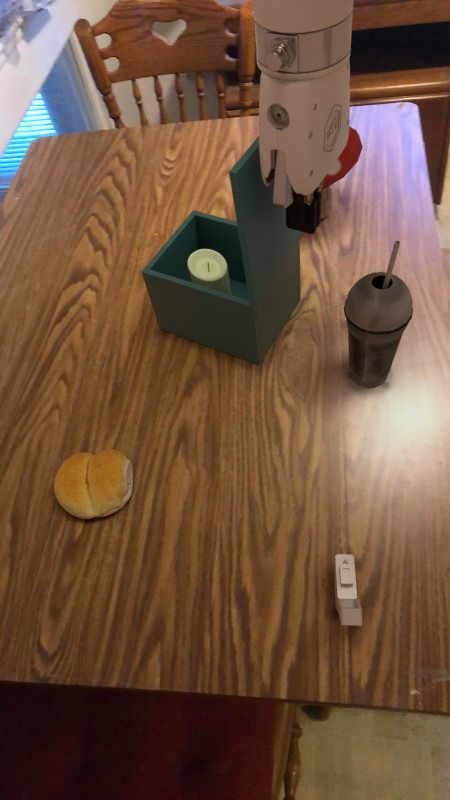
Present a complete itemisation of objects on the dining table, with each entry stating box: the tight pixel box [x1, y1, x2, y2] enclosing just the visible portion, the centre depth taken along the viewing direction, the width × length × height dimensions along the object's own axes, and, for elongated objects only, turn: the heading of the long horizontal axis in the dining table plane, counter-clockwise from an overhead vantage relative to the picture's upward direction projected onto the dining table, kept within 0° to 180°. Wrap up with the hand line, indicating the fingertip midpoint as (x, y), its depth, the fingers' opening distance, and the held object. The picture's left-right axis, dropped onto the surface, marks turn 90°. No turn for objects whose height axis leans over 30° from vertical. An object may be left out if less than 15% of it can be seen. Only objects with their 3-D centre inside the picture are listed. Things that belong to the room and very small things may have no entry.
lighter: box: [333, 553, 363, 626], centre depth 52 cm, size 7×2×8 cm, turn 177°
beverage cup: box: [343, 240, 414, 389], centre depth 62 cm, size 7×7×20 cm
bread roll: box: [53, 448, 134, 520], centre depth 64 cm, size 8×9×4 cm
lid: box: [228, 135, 304, 305], centre depth 60 cm, size 17×13×1 cm
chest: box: [141, 209, 302, 366], centre depth 74 cm, size 16×13×11 cm
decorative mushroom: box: [317, 125, 363, 220], centre depth 83 cm, size 16×16×15 cm
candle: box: [188, 249, 232, 295], centre depth 75 cm, size 5×5×8 cm
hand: (303, 226), depth 60 cm, fingers closed
